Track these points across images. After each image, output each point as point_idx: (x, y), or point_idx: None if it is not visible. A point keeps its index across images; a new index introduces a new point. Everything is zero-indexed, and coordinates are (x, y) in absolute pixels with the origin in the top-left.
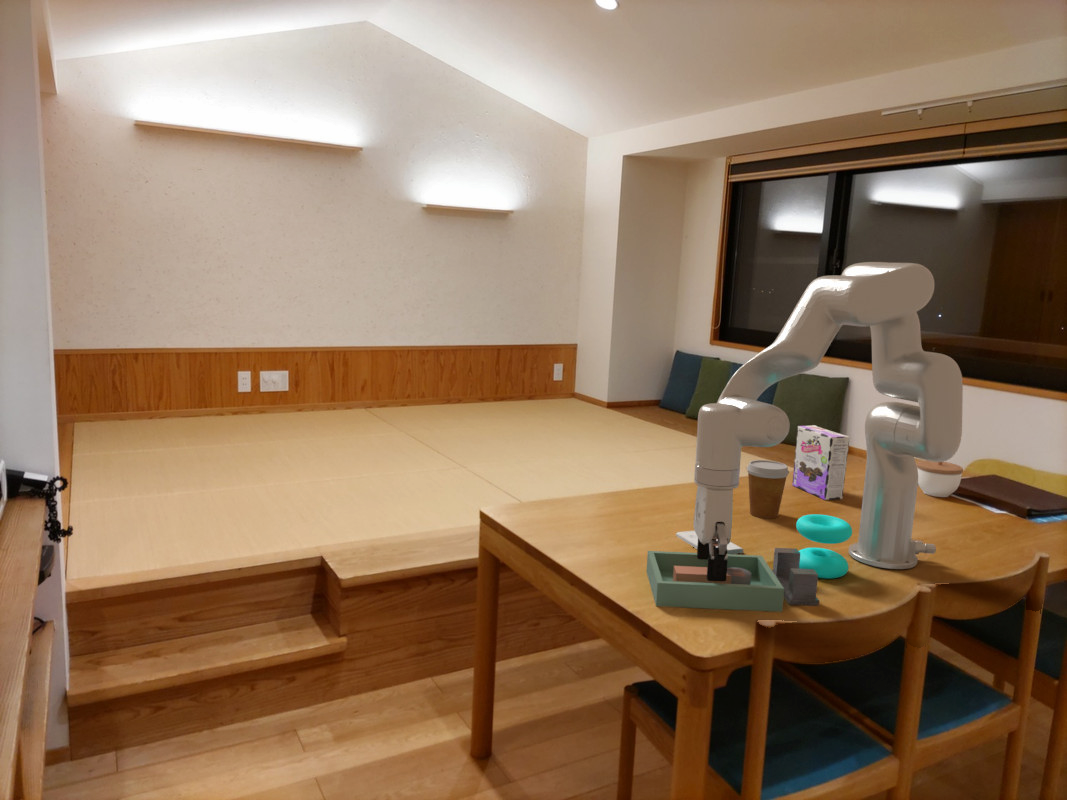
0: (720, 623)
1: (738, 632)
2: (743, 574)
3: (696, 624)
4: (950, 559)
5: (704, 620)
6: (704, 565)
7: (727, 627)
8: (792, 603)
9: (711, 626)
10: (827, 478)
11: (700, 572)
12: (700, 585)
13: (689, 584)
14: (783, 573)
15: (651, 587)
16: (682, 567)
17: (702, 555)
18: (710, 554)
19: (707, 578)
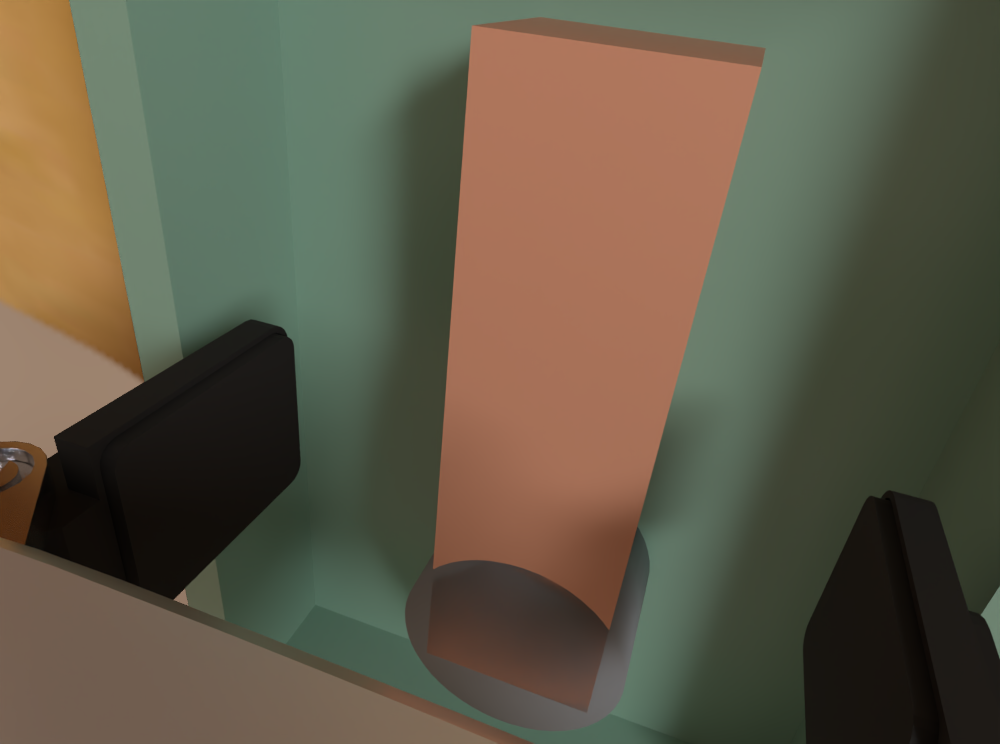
0: (85, 215)
1: (18, 274)
2: (466, 660)
3: (20, 35)
4: None
5: (92, 119)
6: (944, 526)
7: (51, 237)
8: None
9: (30, 138)
10: None
11: (504, 346)
12: (110, 194)
13: (86, 74)
14: None
15: None
16: (672, 184)
17: (859, 563)
18: (6, 492)
19: (242, 324)
